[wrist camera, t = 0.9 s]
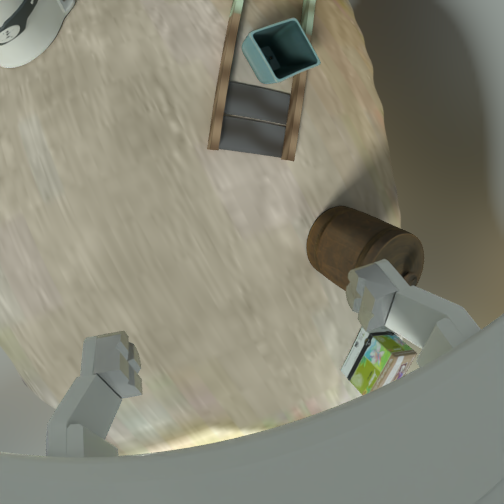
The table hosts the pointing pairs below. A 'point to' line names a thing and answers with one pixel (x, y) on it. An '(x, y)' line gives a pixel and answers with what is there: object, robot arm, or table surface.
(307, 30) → the channel
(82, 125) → the table surface
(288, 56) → the flower pot
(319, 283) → the table surface
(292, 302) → the table surface
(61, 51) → the table surface
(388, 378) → the tea box
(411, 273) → the wooden container
